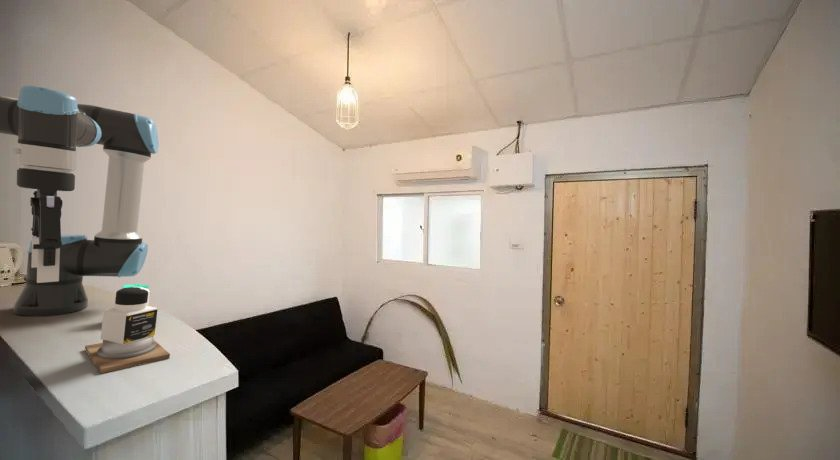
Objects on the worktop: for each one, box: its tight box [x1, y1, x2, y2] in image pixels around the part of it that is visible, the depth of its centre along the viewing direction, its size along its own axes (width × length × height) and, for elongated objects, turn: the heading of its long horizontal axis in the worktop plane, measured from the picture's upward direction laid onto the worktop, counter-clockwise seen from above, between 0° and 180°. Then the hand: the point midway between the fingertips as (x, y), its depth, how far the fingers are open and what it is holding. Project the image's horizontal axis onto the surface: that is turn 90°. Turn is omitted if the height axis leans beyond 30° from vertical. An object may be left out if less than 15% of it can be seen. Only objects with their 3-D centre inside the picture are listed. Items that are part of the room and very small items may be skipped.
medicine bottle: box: [100, 287, 158, 345], centre depth 76 cm, size 7×7×12 cm
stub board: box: [84, 336, 171, 374], centre depth 77 cm, size 16×12×4 cm
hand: (44, 274), depth 65 cm, fingers open, 13 cm apart
